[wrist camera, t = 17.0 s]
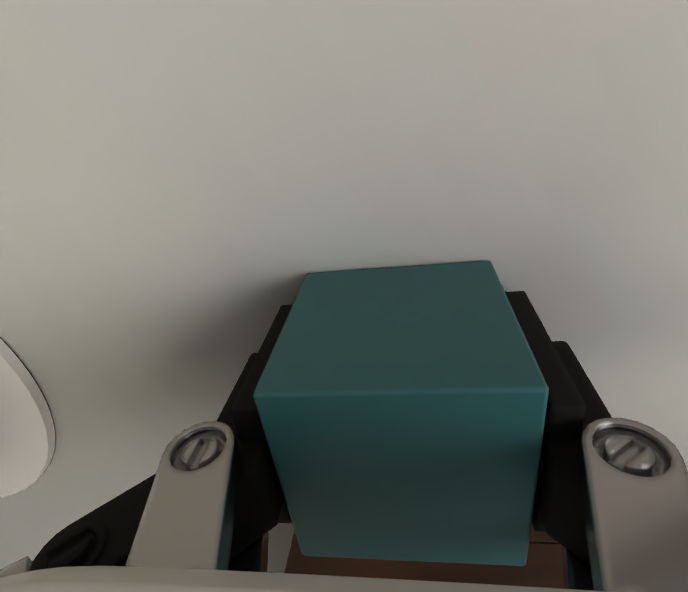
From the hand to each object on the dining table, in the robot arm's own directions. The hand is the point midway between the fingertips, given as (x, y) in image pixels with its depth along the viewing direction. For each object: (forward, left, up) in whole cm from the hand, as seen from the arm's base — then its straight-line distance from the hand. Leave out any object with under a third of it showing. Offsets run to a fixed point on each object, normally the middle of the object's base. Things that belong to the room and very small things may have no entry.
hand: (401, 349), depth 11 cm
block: (0, 0, 0) cm, 0 cm away
